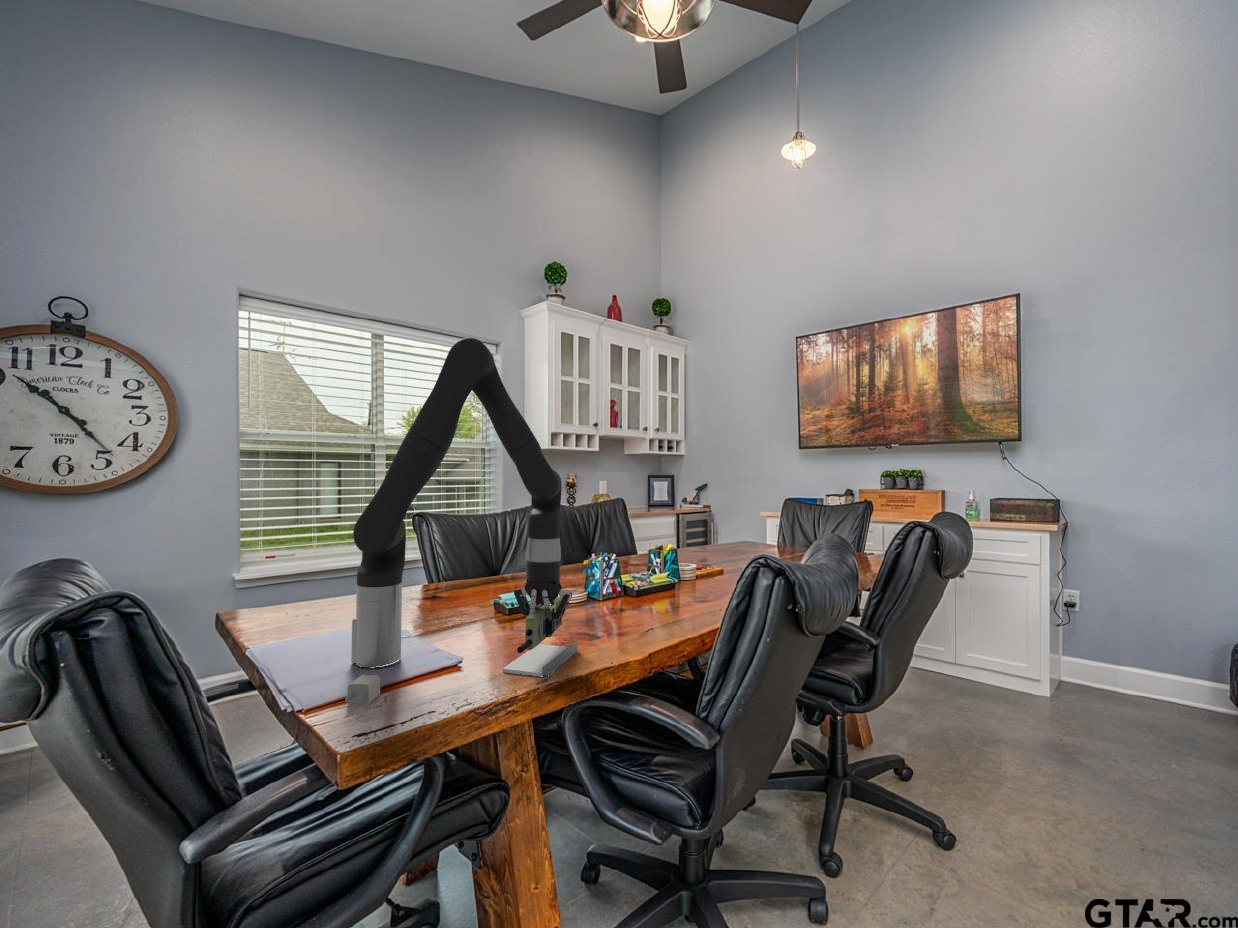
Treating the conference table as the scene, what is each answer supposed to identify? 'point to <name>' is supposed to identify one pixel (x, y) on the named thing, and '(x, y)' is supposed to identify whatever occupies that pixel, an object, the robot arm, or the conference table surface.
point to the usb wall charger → (363, 690)
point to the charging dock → (541, 660)
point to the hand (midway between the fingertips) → (542, 635)
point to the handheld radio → (537, 627)
